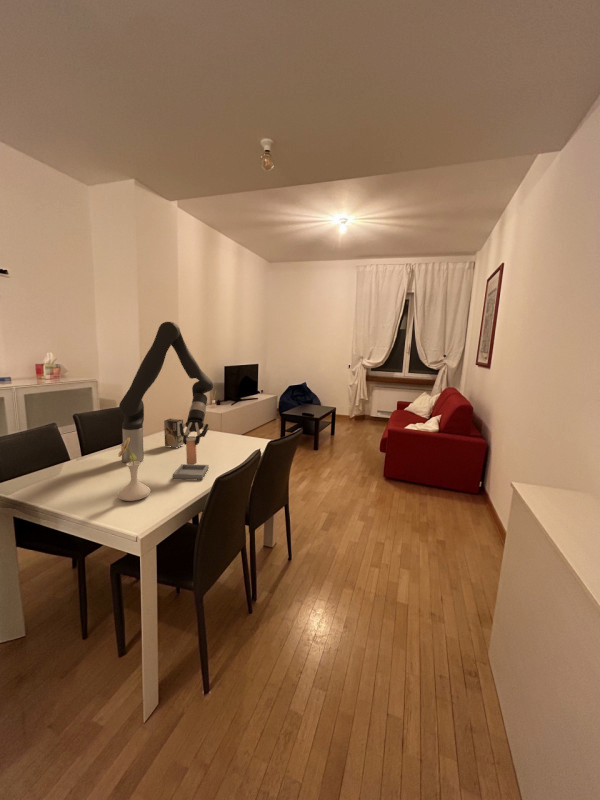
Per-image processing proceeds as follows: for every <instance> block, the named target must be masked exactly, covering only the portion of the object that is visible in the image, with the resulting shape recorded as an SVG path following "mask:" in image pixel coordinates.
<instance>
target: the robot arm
mask: <svg viewBox="0 0 600 800" xmlns="http://www.w3.org/2000/svg"><path fill="white" fill-rule="evenodd" d="M171 346H172V348H173V350H174V351H175V353H176V355H177V357H178V360H179V362H180V364H181V366H182V368H183V369H184V372H185V373H186V374H187V376H188V377H189V379H191V380H192V379H196V380H198V381H195V382H194V383H193V384H192V387H191V390H192V401H191V404H190V407H189V411H188V416H187V420H186V422H185V423H183V424H182V423H180V434H181V436H182V437H183V443H184V446H186V437H190V436H189V435H191V433H193V432H194V433H196V436H195V437H196V440H195V444H196V446H198V444H200V441H201V438H204V437H206V435H207V433H208V430H209V429H210V426H209V424H208V423H206V424H205V423H204V421H205V417H206V411H207V404H208V397H207V395H206V393H209V392H210V391H211V392H212V390H213V389H214V383H213V381H212V380H211V379H210V377H208V375H206V373H205V372H204V371H202V369H201V368H200V366H199V364H198V362H197V361H196V359H195V357H194V356H193V354H192V352H191V351H190V349H189V347H188V346H187V344H186V342H185V340H184V337H183V335H182V332H181V330H180V327H179V325H178V324H177V323H175V322H172V321H165V322H162V323H161V324H160V325H159V327H158V329H157V332H156V335H155V338H154V340H153V343H152V344H151V346H150V348H149V349H148V351H147V352H146V354H145V356H144V358H143V360H142V361H141V364H140V365H139V367H138V370H137V371H136V373H135V375H134V377H133V381H132V382H131V383H130V384H131V385H130V387H129V388H128V390H127V392H126V393H125V394H124V395H123V398H122V399H121V401H120V402H119V405H118V410H119V413H120V414H122V415H123V416H124V420H123V421H122V423H121V427H122V429H121V430H122V443H121V444H120V447H122V446H124V443H125V440H126V441H127V438H128V439H129V437H130V441H129V444H128V446H127V447H128V449H129V450H130V452H131V453H134V455H135V456H136V457H137V459H136V460H135V461H138V462H140V461H141V462H143V461H144V460H143V459H145V458H144V456H145V455H144V453H145V452H144V432H143V431H144V428H143V427H144V426H143V425H144V420H145V419H144V418H145V405H144V401H143V398H144V395H145V394H146V393H147V391H148V390H149V389H150V388H151V386H152V385H153V384H154V383H155V381H156V380H157V378H158V376H159V375H160V372H161V370H162V369H163V365H164V363H165V359H166V355H167V353H168V352H169V349H170V347H171ZM185 428H186V429H185ZM202 428H203V429H202ZM184 429H185V430H184ZM201 430H202V431H201ZM128 449H126V450H125V451H124V453H123V454H122V455H121V463H125V462H126V463H125V464H127V463H129V462H130V461H131V459H130V458H129V457H130V455H131V454H130V452H129V450H128ZM121 450H122V449H121V448H120V451H121ZM142 460H143V461H142ZM132 462H133V461H132Z"/></svg>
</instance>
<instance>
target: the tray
mask: <svg viewBox="0 0 600 800" xmlns="http://www.w3.org/2000/svg"><path fill="white" fill-rule="evenodd" d="M209 468H210V466H209V464H193V465H189V464H187V463H185V464H183V463H182V464H180V465H179V467H178V468H177V469H175V471H174V472H173V473H172V480H173V479H197V480H196V481H203V479H204V478H205V476H206V475H207V473H208V472H209V470H210V469H209ZM208 469H209V470H208ZM207 471H208V472H207ZM206 472H207V473H206ZM205 474H206V475H205ZM203 477H204V478H203Z"/></svg>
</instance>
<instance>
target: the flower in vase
mask: <svg viewBox="0 0 600 800" xmlns="http://www.w3.org/2000/svg"><path fill="white" fill-rule="evenodd" d="M129 441H130V437H129V439H128V438H127V441H126V440H125V443H124V446H122V447H121V446H120V447H121V448H120V451H119V452H118V457H119V458H120V457H121V458H122V454H123V453H124V451H125V450H126V449H128V447H127V446H128V444H129ZM121 449H122V450H121ZM128 450H129V449H128ZM129 452H130V450H129ZM130 454H131V455H130V457H129V458H130V459H131V461H130V462H129V463H125V464H126V467H128V469H129V473H130V481H129V482H128V484H127V485H125V486H124V487H123V488H122V489H121V490H119V492H118V494H117V497H118V498H119V499H120V500H122V501H129V502H131V501H132V502H133V501H134V502H135V501H139V500H141V499H144V498H146V497H148V496H149V495H150V493H151V489H150V487H148V486H147V485H146V484H145V483H142V482H140V481H139V479H138V469H139V467H140V465H141V462H142V461H141V462H138V461H135V460H136V459H137V457H136V456H135V455H134V453H131V452H130ZM132 461H133V462H132Z"/></svg>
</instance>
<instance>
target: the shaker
mask: <svg viewBox="0 0 600 800" xmlns="http://www.w3.org/2000/svg"><path fill="white" fill-rule="evenodd" d="M195 440H196V436H188V437H186V445H185V446H186V448H185V451H186V453H185V454H186V455H185V456H186V464H189V465H193V464H194V465H197V445H196V444H195Z"/></svg>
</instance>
